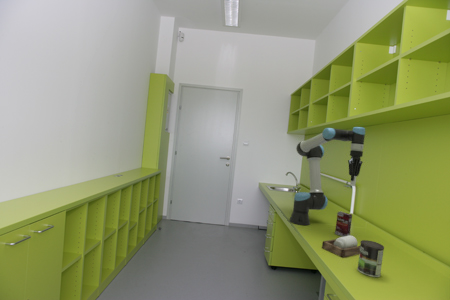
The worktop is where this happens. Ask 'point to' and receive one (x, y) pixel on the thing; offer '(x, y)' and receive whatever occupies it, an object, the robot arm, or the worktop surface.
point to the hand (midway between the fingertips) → (352, 185)
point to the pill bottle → (346, 242)
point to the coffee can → (370, 258)
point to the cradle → (338, 251)
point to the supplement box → (343, 224)
